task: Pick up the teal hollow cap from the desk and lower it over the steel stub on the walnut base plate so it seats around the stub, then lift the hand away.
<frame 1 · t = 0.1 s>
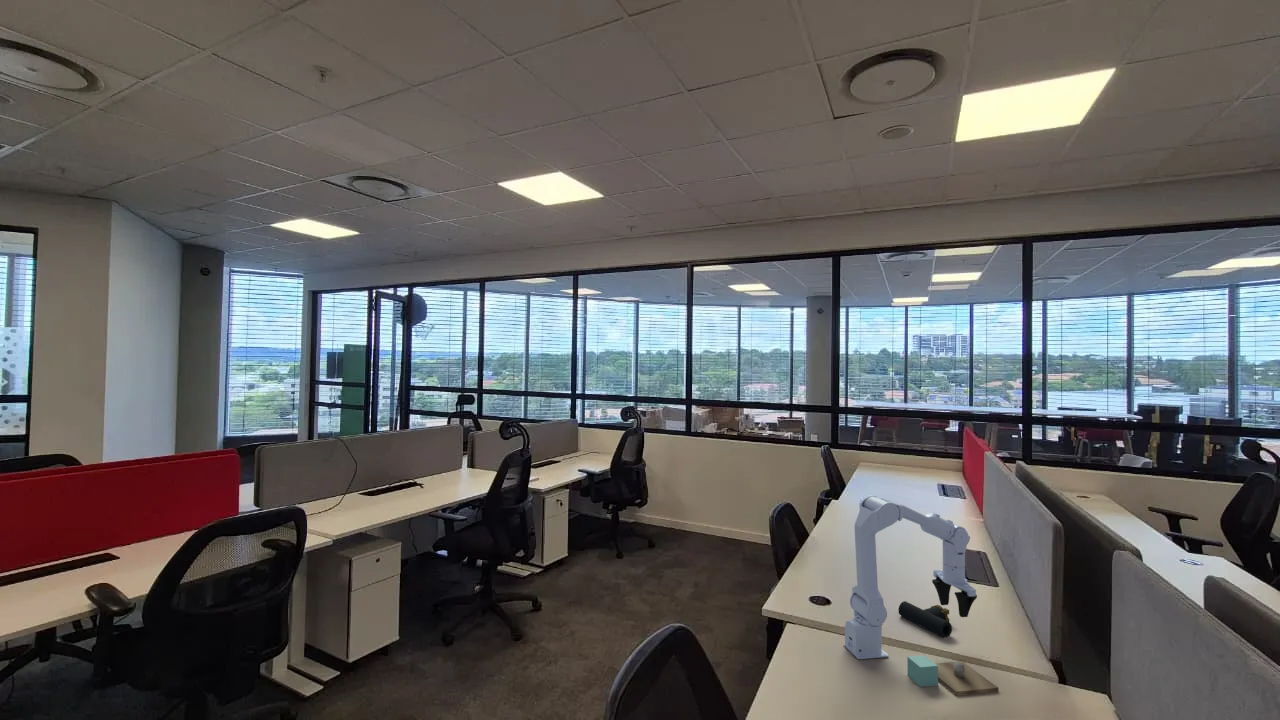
hand: (953, 610, 153), 10 cm above the table, tool pointing down, fingers open, 7 cm apart
base plate: (959, 679, 136), on the table
housing cap: (922, 680, 135), on the table
pipe connector: (931, 625, 165), on the table
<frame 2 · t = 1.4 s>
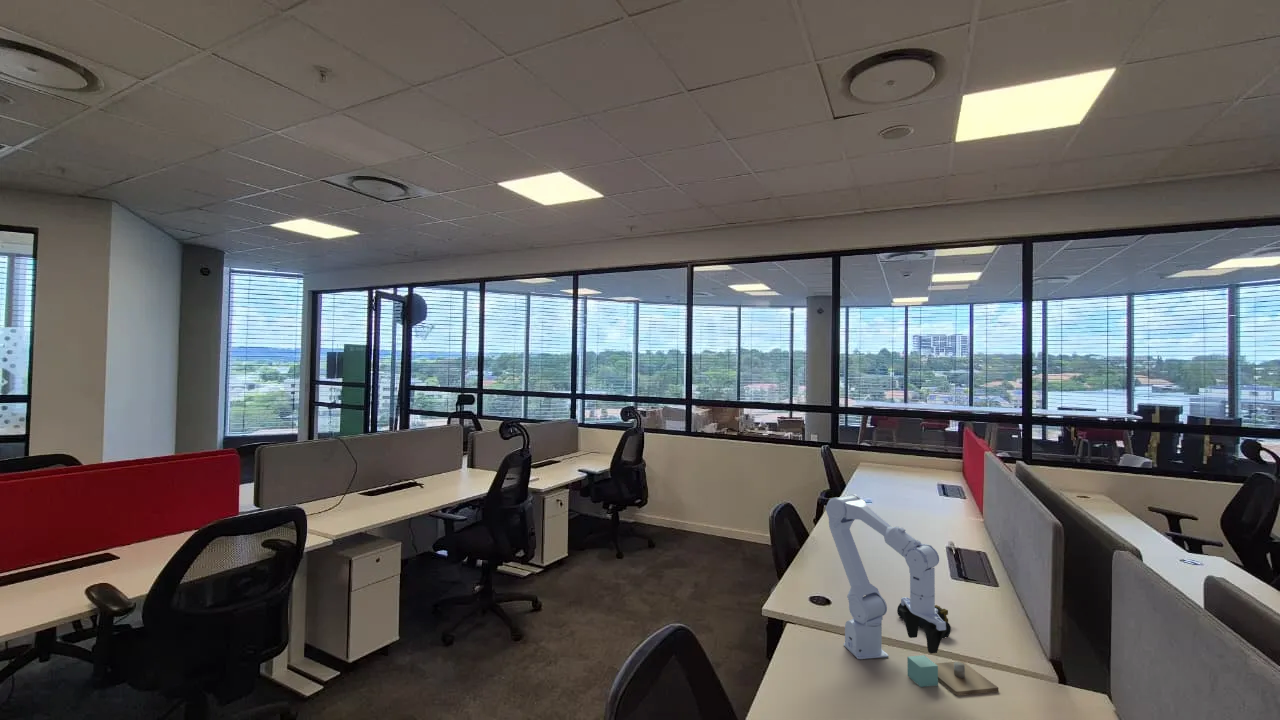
hand: (922, 644, 135), 9 cm above the table, tool pointing down, fingers open, 7 cm apart
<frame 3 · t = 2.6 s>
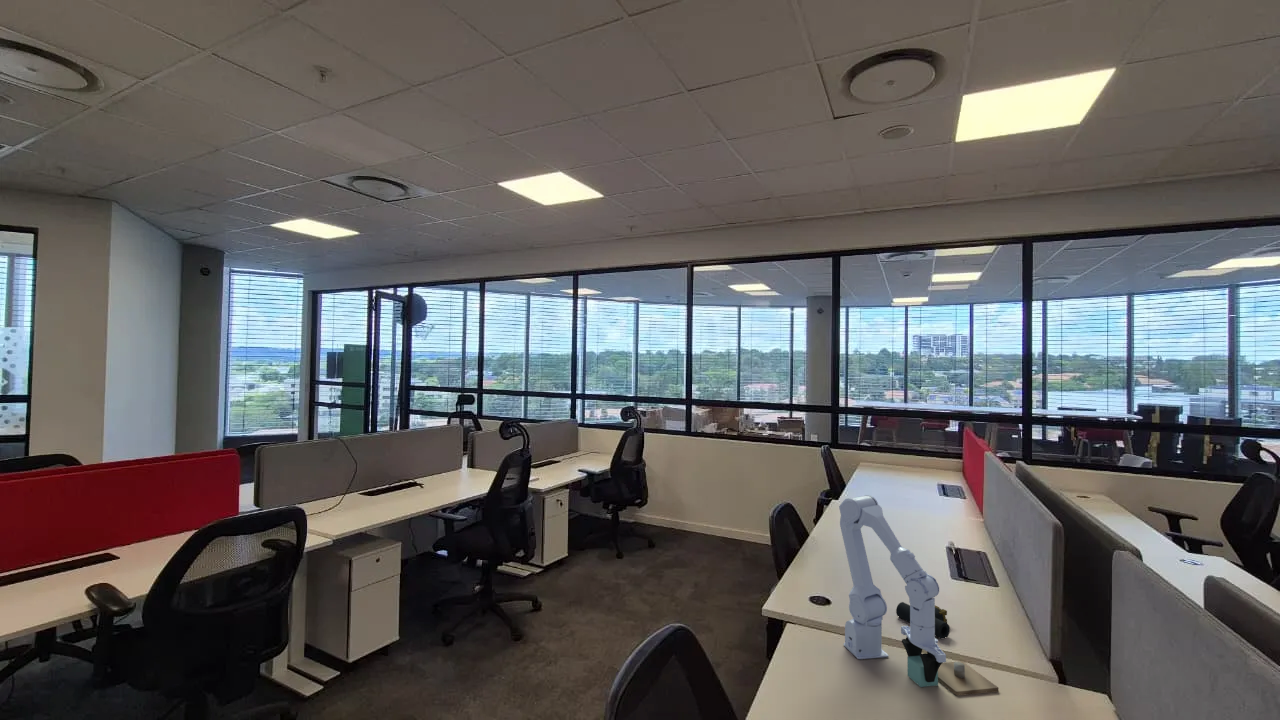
hand: (922, 674, 135), 1 cm above the table, tool pointing down, fingers closed on housing cap, 5 cm apart
housing cap: (922, 680, 135), on the table, touching gripper
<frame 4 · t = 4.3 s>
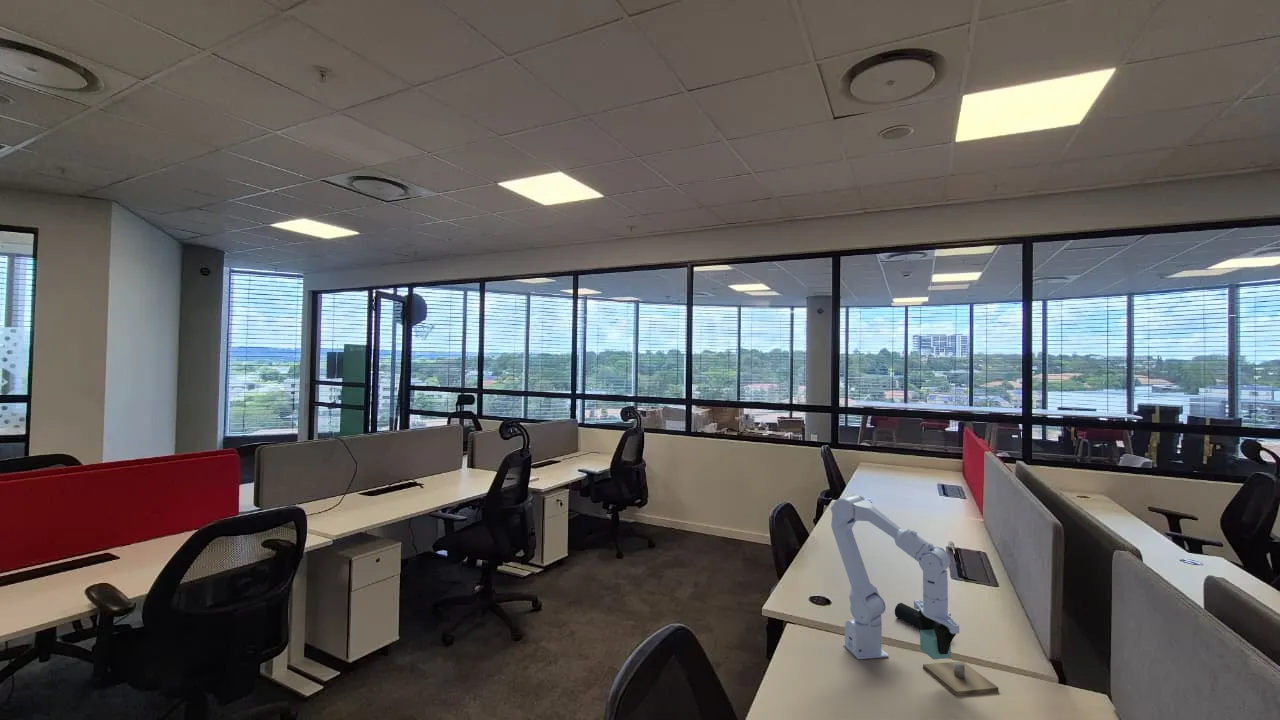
hand: (935, 647, 135), 8 cm above the table, tool pointing down, fingers closed on housing cap, 5 cm apart
housing cap: (935, 653, 135), point 7 cm above the table, touching gripper
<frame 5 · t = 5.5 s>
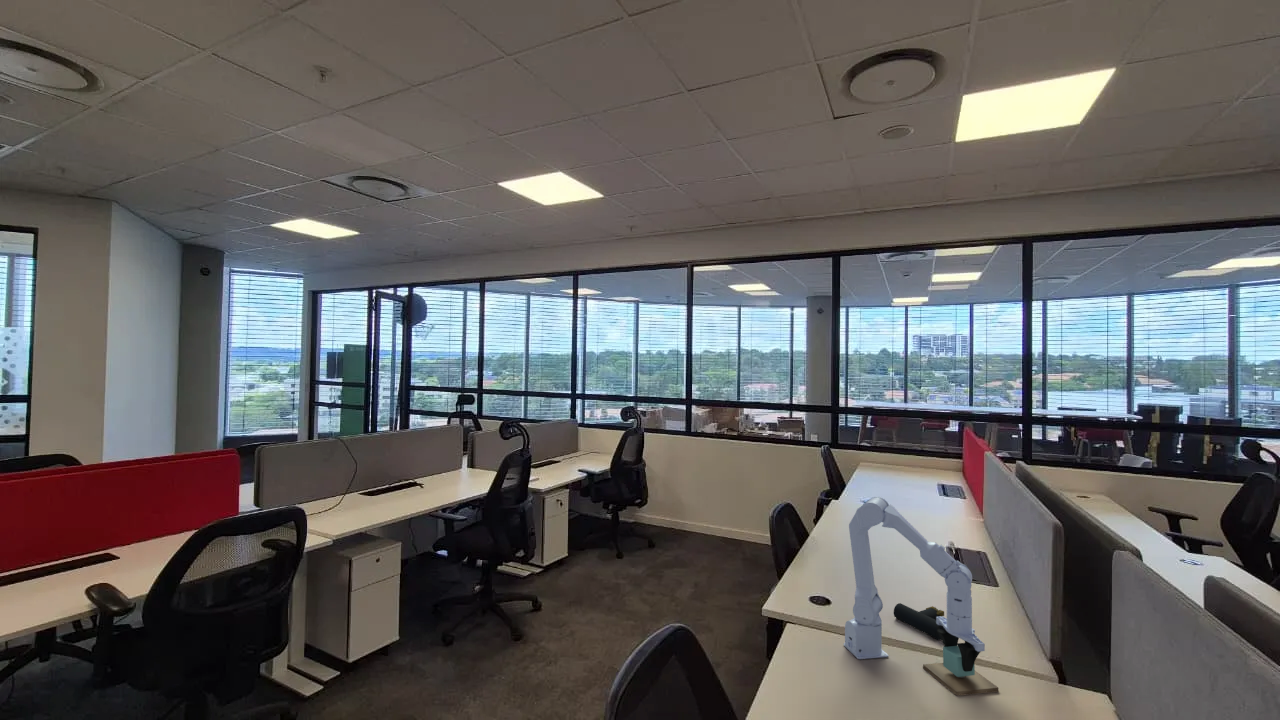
hand: (959, 664, 136), 4 cm above the table, tool pointing down, fingers closed on housing cap, 5 cm apart
housing cap: (958, 670, 136), point 2 cm above the table, touching gripper
when the fingers open (3 cm above the table, at t = 6.1 s): housing cap stays where it is, resting on base plate.
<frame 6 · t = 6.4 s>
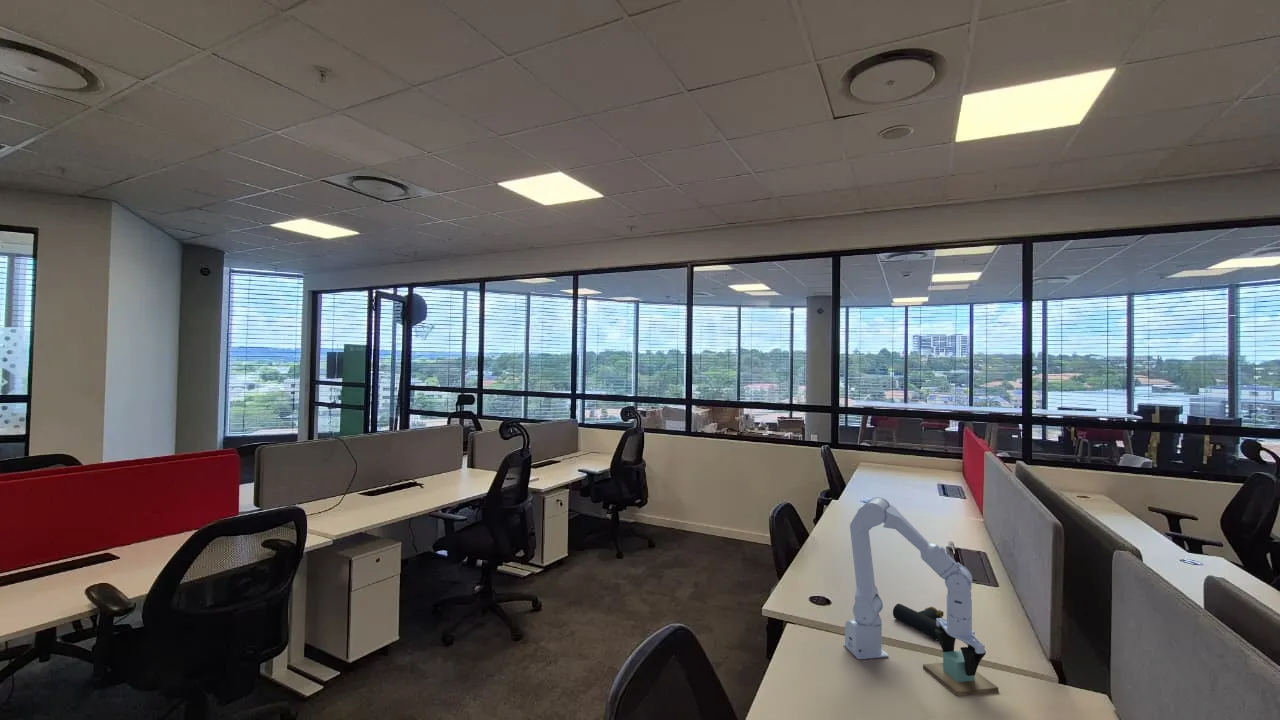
hand: (959, 666, 136), 3 cm above the table, tool pointing down, fingers open, 7 cm apart
housing cap: (958, 675, 136), point 1 cm above the table, touching base plate
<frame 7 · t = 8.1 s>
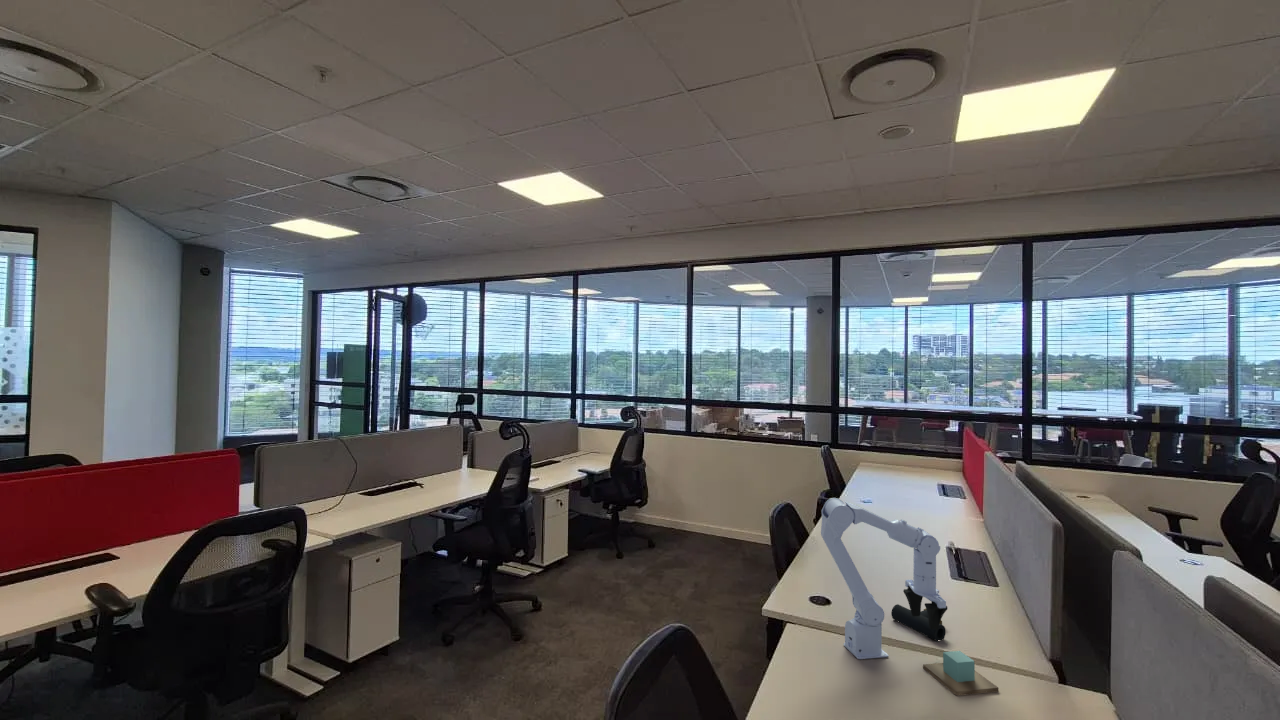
hand: (924, 622, 147), 9 cm above the table, tool pointing down, fingers open, 7 cm apart
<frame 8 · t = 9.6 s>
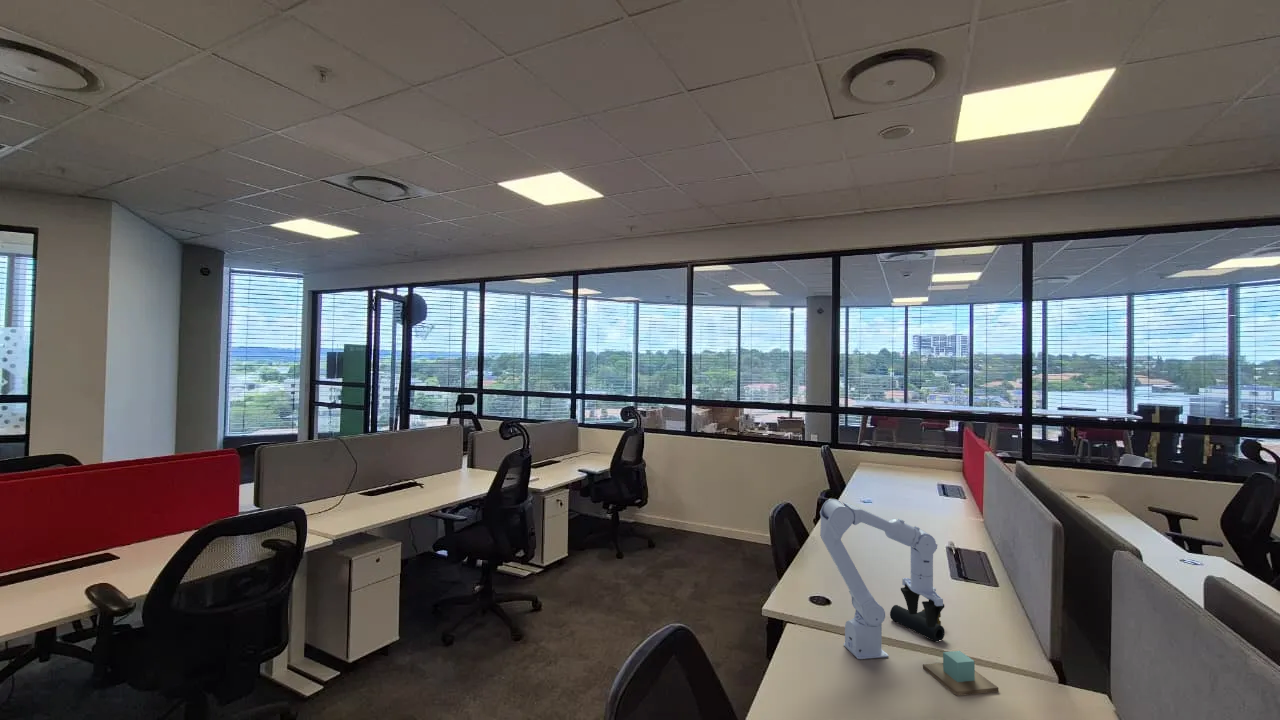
hand: (921, 620, 148), 9 cm above the table, tool pointing down, fingers open, 7 cm apart
at the end: housing cap 0.2 cm off-centre on the base plate, point 1.0 cm above the base plate's base; housing cap tilted 0°; the gripper is holding nothing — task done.
